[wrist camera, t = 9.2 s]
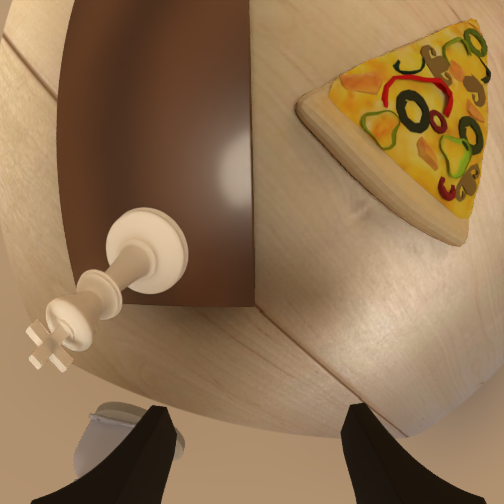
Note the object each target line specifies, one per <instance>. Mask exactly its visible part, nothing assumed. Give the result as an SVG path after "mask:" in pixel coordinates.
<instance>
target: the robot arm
mask: <svg viewBox="0 0 504 504" xmlns="http://www.w3.org/2000/svg"><path fill="white" fill-rule="evenodd" d="M89 418H90V419H91V421H90V423H89V425H88V427H87V428H86V431H85V432H84V434H83V436H82V438H81V440H80V442H79V444H78V446H77V448H76V450H75V453H74V457H73V468H74V471H75V473H76V475H77V477H78V478H79V479H75V480H74V482H73V483H71V484H69V485H67V486H65V487H64V488H62V489H60V490H58V491H56V492H53V493H51V494H49V495H46V496H43V497H40V498H38V499H34V500H32V502H31V504H161V500H162V495H163V492H164V488H165V485H166V482H167V478H168V474H169V471H170V468H171V464H172V461H173V457H174V452H175V446H176V438H177V433H176V431H175V428H174V426H173V423H172V420H171V418H170V415H169V413H168V410H167V407H162V406H155V405H152V406H151V407H150V408H149V409H148V411H147V412H146V413H145V415H144V416H143V417H142V418H141V420H140V421H139V422H138V423H137V424H133V423H128V422H123V421H119V420H114V419H110V418H106V417H103V416H99V415H95V414H89ZM341 439H342V446H343V452H344V456H345V460H346V464H347V467H348V471H349V474H350V478H351V481H352V485H353V489H354V492H355V497H356V502H357V504H486V501H485V500H484V498H483V497H480V496H477V495H474V494H471V493H468V492H466V491H464V490H461V489H459V488H457V487H455V486H453V485H451V484H450V483H448V482H446V481H445V480H443V479H441V478H439V477H438V476H436V475H435V474H433V473H432V472H431V471H429V470H428V469H426V468H425V467H424V466H423V465H421V464H420V463H419V462H418V461H417V460H415V459H414V458H413V457H412V456H411V455H410V454H409V453H408V452H407V451H406V450H405V449H404V448H403V447H402V446H401V445H400V444H399V443H398V442H397V441H396V440H395V439H394V438H393V436H392V435H391V434H390V433H389V432H388V431H387V430H386V428H385V427H384V426H383V425H382V424H381V422H380V421H379V420H378V419H377V417H376V416H375V415H374V414H373V412H372V411H371V410H370V408H369V407H368V406H367V405H366V404H365V403H359V404H352V405H350V407H349V410H348V413H347V416H346V419H345V422H344V424H343V427H342V430H341Z"/></svg>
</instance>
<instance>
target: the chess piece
mask: <svg viewBox="0 0 504 504" xmlns="http://www.w3.org/2000/svg"><path fill="white" fill-rule="evenodd" d="M106 254H107V259H108V262H109V265H110V267H109V268H108V269H107V270H106V272H105V273H104V272H102V271H100V270H95V269H92V270H88V271H86V272H84V273H83V274H82V275H81V277H80V279H79V281H78V283H77V293H75V294H72V295H68V296H61V297H58V298H55V299H53V300H52V301H50V302H49V304H48V305H47V308H46V320H47V324H48V327H49V329H50V331H51V332H52V333H51V334H50V333H49V332H48V331H47V330H46V329H45V328H44V326H43V325H42V324H41V323H40V321H39V320H38V319H36V320H35V321H34V322H33V323H32V324H31V325H30V326H29V327H28V329H27V330H26V333H27V334H28V335H29V336H30V338H31V339H32V340H33V341H34V342H35V343H36V345H37V346H38V348H37V349H36V350H35V351H34V352H33V354H32V355H31V356H30V357H29V358H28V359H29V361H30V362H31V363H32V364H33V365H34V366H35V367H36V368H37V369H38V370H39V369H40V367H41V366H42V365H43V364H44V363H45V362H46V361H47V359H48V358H49V359H50V360H51V362H52V363H53V364H54V365H55V366H56V367H57V368H58V369H59V370H60V371H61V372H62V373H63V372H64V371H65V370H67V369H68V367H69V366H70V365H71V364H72V362H73V361H74V360H73V359H72V358H71V357H70V356H69V355H68V353H67V352H66V351H65V350H64V349H63V348H62V347H61V346H60V345H61V344H62V345H64V346H65V347H67V348H69V349H71V350H74V351H85V350H87V349H88V348H89V347H90V346H91V344H92V342H93V340H94V336H95V333H96V327H97V323H98V321H99V319H103V320H106V319H110V318H112V317H115V316H116V315H117V314H118V313H119V312H120V310H121V308H122V295H121V291H122V290H123V289H125V288H126V287H128V288H130V289H132V290H134V291H137V292H140V293H144V294H156V293H160V292H163V291H166V290H167V289H169V288H170V287H172V286H173V285H174V284H175V283H176V282H177V281H178V280H179V279H180V278H181V277H182V275H183V274H184V272H185V270H186V267H187V263H188V246H187V242H186V238H185V236H184V234H183V232H182V230H181V229H180V227H179V226H178V224H177V223H176V222H175V221H174V220H173V219H172V218H171V217H169V216H168V215H167V214H165V213H163V212H161V211H159V210H156V209H153V208H146V207H143V208H136V209H132V210H130V211H128V212H126V213H125V214H123V215H122V216H121V217H120V218H119V219H118V220H116V222H115V223H114V224H113V225H112V227H111V229H110V231H109V233H108V236H107V241H106Z"/></svg>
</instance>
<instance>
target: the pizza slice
mask: <svg viewBox="0 0 504 504" xmlns="http://www.w3.org/2000/svg"><path fill="white" fill-rule="evenodd" d="M490 77H491V72H490V70H489V69H488V68H487V45H486V42H485V40H484V38H483V36H482V33H481V32H480V29H479V25H478V22H477V20H475V19H472V18H471V19H469V20H467V21H465V22H461V23H458V24H455V25H452V26H448V27H446V28H444V29H442V30H441V31H439V32H437V33H434V34H432V35H429V36H426V37H424V38H421V39H419V40H416V41H414V42H411V43H409V44H406V45H404V46H402V47H399V48H397V49H394V50H392V51H390V52H388V53H386V54H384V55H382V56H380V57H378V58H375V59H372V60H369V61H367V62H365V63H363V64H361V65H359V66H357V67H355V68H354V69H352V70H350V71H348V72H347V73H345V74H344V75H342V76H339V77H338V78H337V79H335V80H333V81H331V82H329V83H327V84H326V85H324V86H322V87H320V88H317V89H315V90H312V91H310V92H308V93H307V94H305V95H303V96H302V97H301V98H300V99H299V101H298V102H297V104H296V112H297V115H298V116H299V118H300V119H301V120H302V122H303V123H304V124H305V125H306V126H307V127H308V128H309V129H310V130H311V132H312V133H313V134H314V135H315V136H316V137H317V138H318V139H319V140H320V141H321V142H322V143H323V145H324V146H325V147H326V148H327V149H328V150H329V151H330V152H331V153H332V155H333V156H334V157H335V158H336V159H337V160H338V161H339V162H340V163H341V164H342V165H343V166H344V167H345V168H346V169H347V170H348V171H349V173H350V174H351V175H352V176H353V177H355V178H356V179H357V180H358V181H359V182H360V183H361V184H362V185H363V186H364V187H365V188H366V189H367V190H368V191H370V192H371V193H372V194H373V195H374V196H375V197H376V198H378V199H379V200H380V201H381V202H382V203H384V204H385V205H386V206H387V207H388V208H389V209H390V210H392V211H393V212H395V213H396V214H397V215H399V216H400V217H402V218H403V219H404V220H406V221H407V222H408V223H410V224H411V225H413V226H415V227H416V228H418V229H420V230H421V231H423V232H425V233H426V234H428V235H430V236H432V237H434V238H436V239H438V240H440V241H442V242H444V243H447V244H449V245H452V246H457V247H460V246H462V245H463V244H464V243H465V242H466V240H467V237H468V230H469V217H470V215H471V214H472V210H473V203H474V199H475V196H476V192H477V189H478V186H479V182H480V177H481V167H482V159H483V151H484V148H485V144H486V139H487V132H488V102H487V83H488V82H489V81H490Z"/></svg>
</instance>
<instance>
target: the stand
mask: <svg viewBox="0 0 504 504" xmlns="http://www.w3.org/2000/svg"><path fill="white" fill-rule="evenodd" d="M56 141H57V170H58V184H59V195H60V204H61V212H62V219H63V226H64V232H65V238H66V243H67V249H68V254H69V258H70V263H71V268H72V272H73V276H74V280H75V284H76V288H77V283H78V281H79V279H80V277H81V275H82V274H83V273H84V272H86V271H88V270H92V269H95V270H100V271H102V272H104V273H105V272H106V270H107V269H108V268H109V267H110V265H109V262H108V259H107V254H106V241H107V236H108V233H109V231H110V229H111V227H112V225H113V224H114V223H115V222H116V220H118V219H119V218H120V217H121V216H122V215H123V214H125V213H126V212H128V211H130V210H132V209H136V208H143V207H146V208H153V209H156V210H159V211H161V212H163V213H165V214H167V215H168V216H169V217H171V218H172V219H173V220H174V221H175V222H176V223H177V224H178V226H179V227H180V229H181V230H182V232H183V234H184V236H185V238H186V242H187V246H188V263H187V267H186V270H185V272H184V274H183V275H182V277H181V278H180V279H179V280H178V281H177V282H176V283H175V284H174V285H173V286H172V287H170V288H169V289H167V290H166V291H163V292H160V293H156V294H144V293H140V292H137V291H134V290H132V289H130V288H128V287H126V288H125V289H123V290H122V291H121V295H122V304H140V305H163V306H199V307H254V306H255V247H254V196H253V147H252V102H251V59H250V19H249V0H75V2H74V5H73V9H72V13H71V17H70V21H69V25H68V29H67V34H66V39H65V44H64V50H63V56H62V63H61V70H60V79H59V89H58V103H57V131H56Z"/></svg>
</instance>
